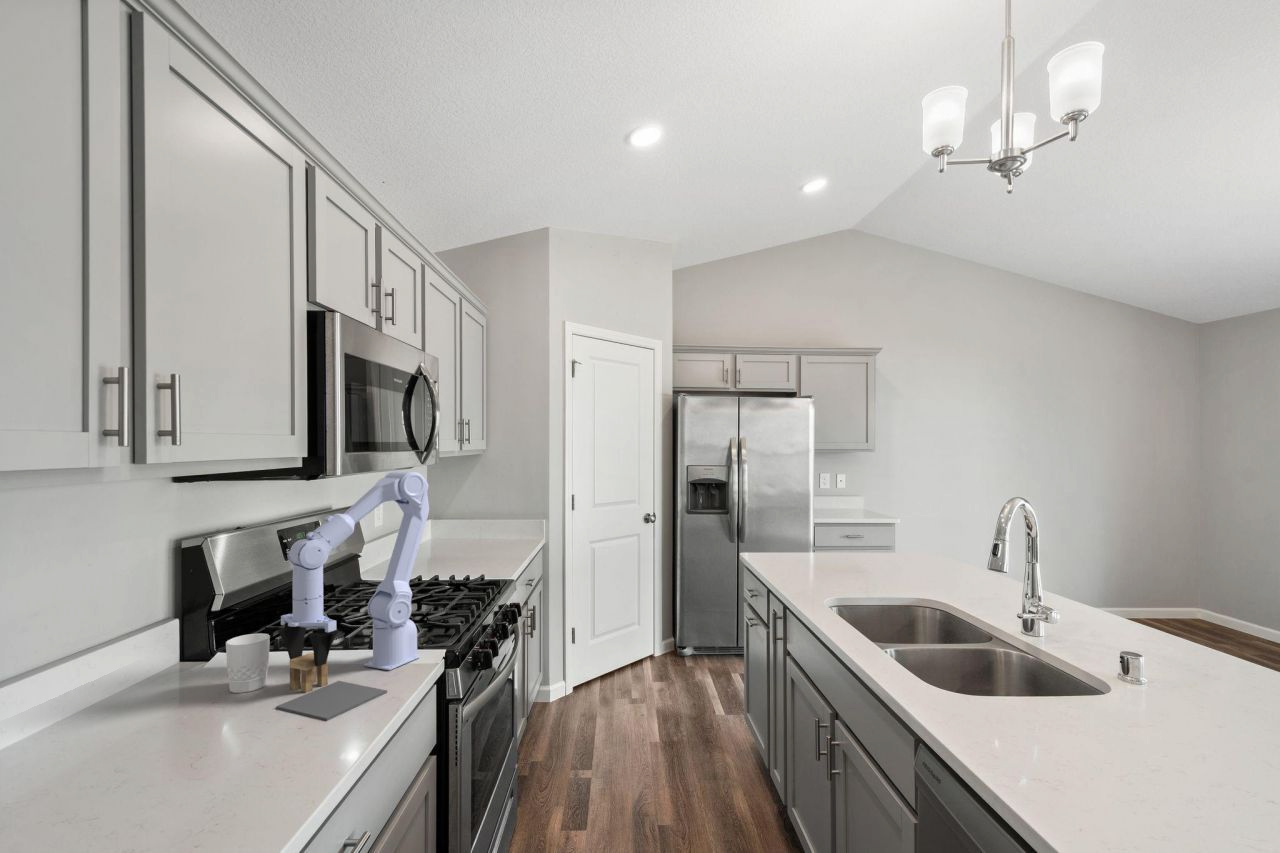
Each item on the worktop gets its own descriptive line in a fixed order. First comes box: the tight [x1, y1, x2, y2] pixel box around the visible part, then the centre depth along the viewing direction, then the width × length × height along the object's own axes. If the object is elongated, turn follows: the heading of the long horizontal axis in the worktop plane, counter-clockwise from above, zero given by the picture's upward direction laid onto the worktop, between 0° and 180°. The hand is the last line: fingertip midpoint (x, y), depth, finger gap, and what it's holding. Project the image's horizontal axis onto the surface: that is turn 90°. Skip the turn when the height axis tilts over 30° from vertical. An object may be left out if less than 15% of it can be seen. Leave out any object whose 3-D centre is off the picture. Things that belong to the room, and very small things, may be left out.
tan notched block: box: [289, 652, 329, 694], centre depth 132 cm, size 5×5×6 cm
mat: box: [276, 680, 388, 721], centre depth 125 cm, size 14×14×1 cm
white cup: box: [225, 633, 271, 694], centre depth 133 cm, size 8×8×10 cm
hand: (308, 662), depth 132 cm, fingers open, 7 cm apart
